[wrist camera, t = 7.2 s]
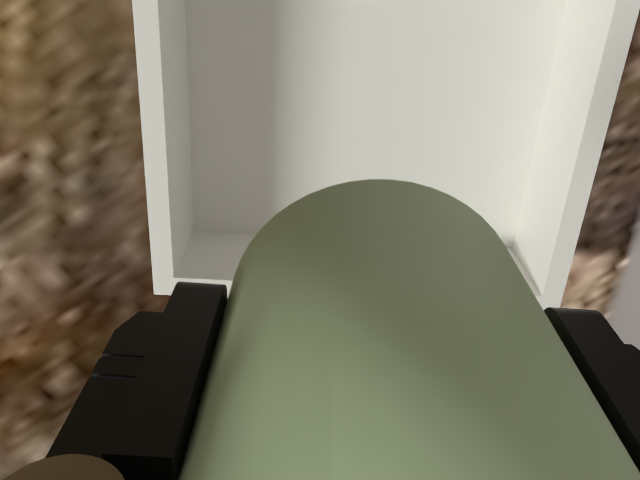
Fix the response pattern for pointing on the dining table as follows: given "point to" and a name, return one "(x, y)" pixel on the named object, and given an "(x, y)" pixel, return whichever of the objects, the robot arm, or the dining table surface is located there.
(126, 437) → the robot arm
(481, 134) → the bin
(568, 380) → the pale green egg shape
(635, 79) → the dining table surface
